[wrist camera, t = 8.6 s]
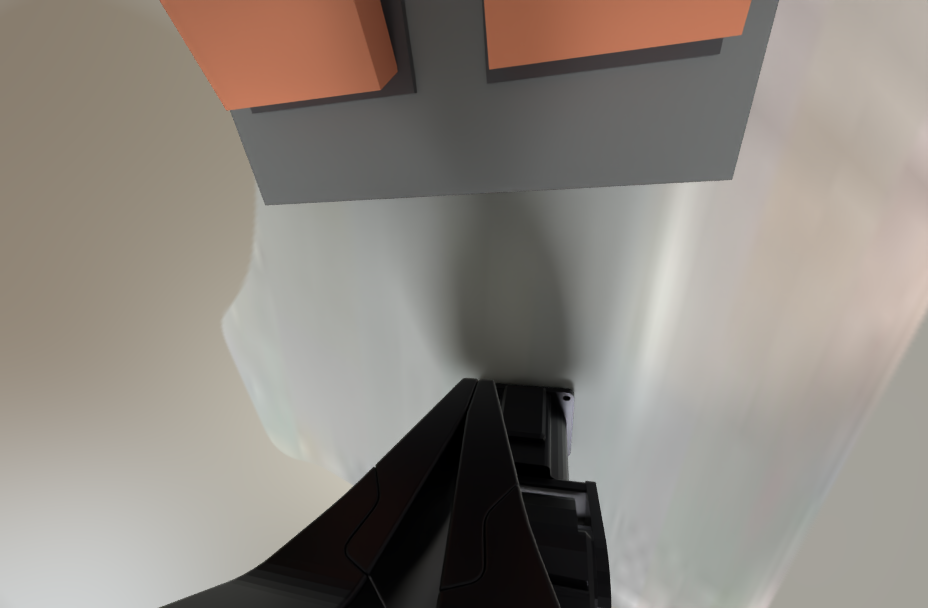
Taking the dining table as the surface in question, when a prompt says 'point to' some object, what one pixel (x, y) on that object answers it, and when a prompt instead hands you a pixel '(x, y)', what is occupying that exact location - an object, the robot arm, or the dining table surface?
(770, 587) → the dining table surface
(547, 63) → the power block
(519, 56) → the block
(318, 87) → the block
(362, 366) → the dining table surface
